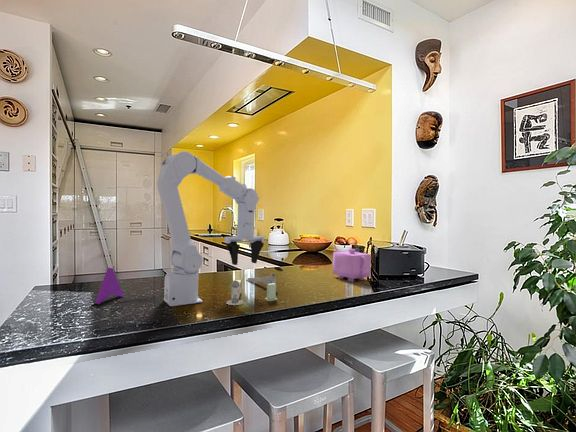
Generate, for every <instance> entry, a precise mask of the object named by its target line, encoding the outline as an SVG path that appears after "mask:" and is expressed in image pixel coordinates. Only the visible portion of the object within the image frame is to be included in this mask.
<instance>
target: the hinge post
mask: <svg viewBox="0 0 576 432" xmlns="http://www.w3.org/2000/svg"><path fill="white" fill-rule="evenodd" d="M230 286H231V299H229V300H227V301H226V302H225V303H226V305H227V304H228V305H227V306H230V305H233V307H235V305H239V306H241V305H243V304H244V301H243V300H241V299H239V300H238V292H239V282H238V281H235V280H233V281H231V283H230Z"/></svg>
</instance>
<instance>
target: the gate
mask: <svg viewBox="0 0 576 432" xmlns="http://www.w3.org/2000/svg"><path fill="white" fill-rule="evenodd" d="M234 281H238V282H239V292H238V300H240V295H241V293H242V291H243V289H242V282H243V278H235V279H234Z"/></svg>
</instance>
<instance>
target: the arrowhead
mask: <svg viewBox="0 0 576 432" xmlns="http://www.w3.org/2000/svg"><path fill="white" fill-rule="evenodd" d="M111 295H113V296H116V297H120V298H124V297H125V296H124V293H123V290H122V288H121V285H120V282H119V281H118V278H117V275H116V273H115V270H114V268H113V267H108V268H107V269H106V272H105V275H104V277H103V280H102V283H101V285H100V287H99V291H98V293H97V296H96V299H95V301H94V304H98V305H100V304H101V303H103V302H104V301H106V299H107V298H109V297H110V296H111Z"/></svg>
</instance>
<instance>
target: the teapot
mask: <svg viewBox="0 0 576 432" xmlns="http://www.w3.org/2000/svg"><path fill="white" fill-rule="evenodd" d="M332 259H333V261H332V262H333V263H332V275H337V276H338V277H337V278H338V279H339V280H340V279H345V278H347V281H348V282H355V279H358V281H365V278H370V277H371V272H372V270H371V269H372V267H371V266H372V255H371V253H366V252H365V253H364V252H359V251H356V248H349V249H348V250H347V251H346V250H345V251H340V250H338V249H335V248H334V249H333V258H332Z"/></svg>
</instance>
